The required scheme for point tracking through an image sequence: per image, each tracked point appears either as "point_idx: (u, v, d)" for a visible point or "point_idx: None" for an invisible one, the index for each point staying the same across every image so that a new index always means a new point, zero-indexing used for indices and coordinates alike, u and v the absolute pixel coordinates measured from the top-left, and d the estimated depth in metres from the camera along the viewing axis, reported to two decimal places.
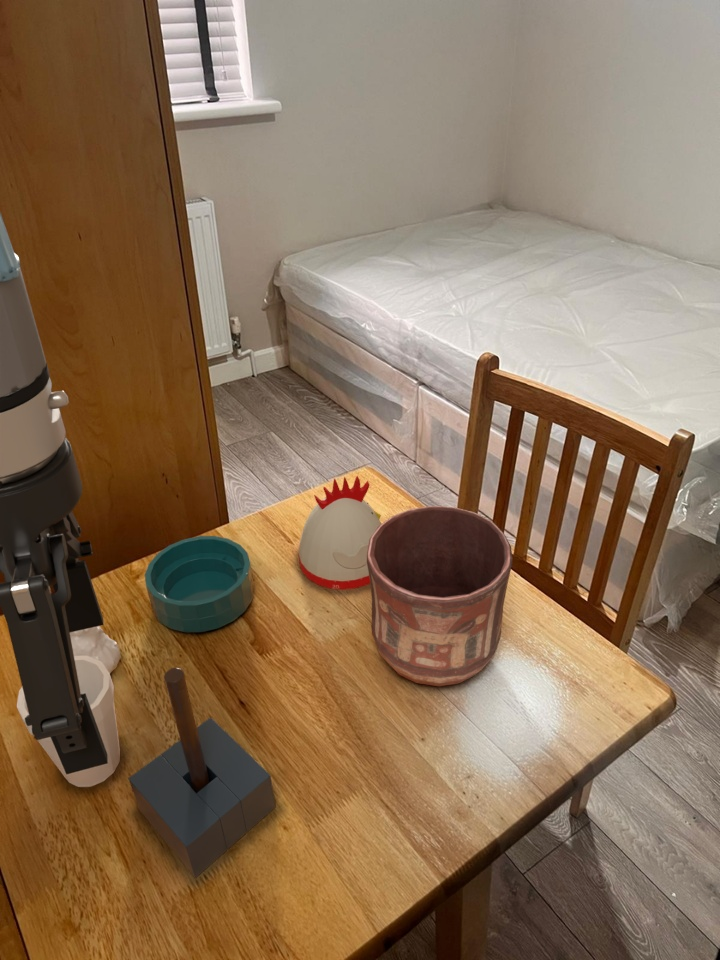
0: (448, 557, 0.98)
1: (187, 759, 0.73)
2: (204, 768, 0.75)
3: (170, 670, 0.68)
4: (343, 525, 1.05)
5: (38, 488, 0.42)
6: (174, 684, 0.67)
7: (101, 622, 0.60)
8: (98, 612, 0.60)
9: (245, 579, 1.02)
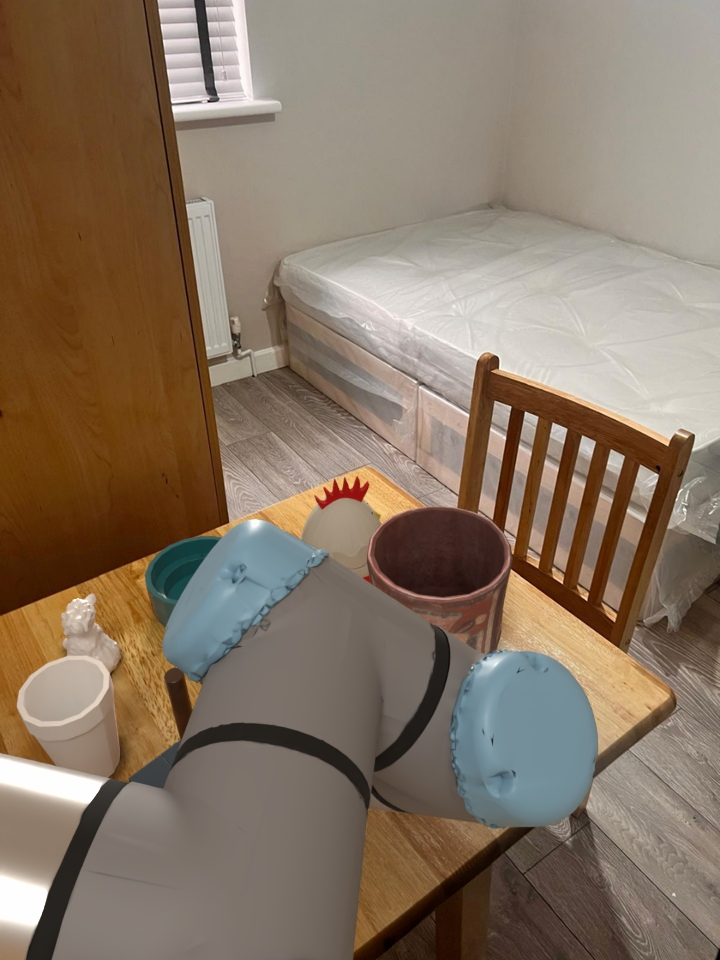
0: (448, 557, 0.98)
1: None
2: None
3: (170, 670, 0.68)
4: (343, 525, 1.05)
5: None
6: (174, 684, 0.67)
7: None
8: None
9: None
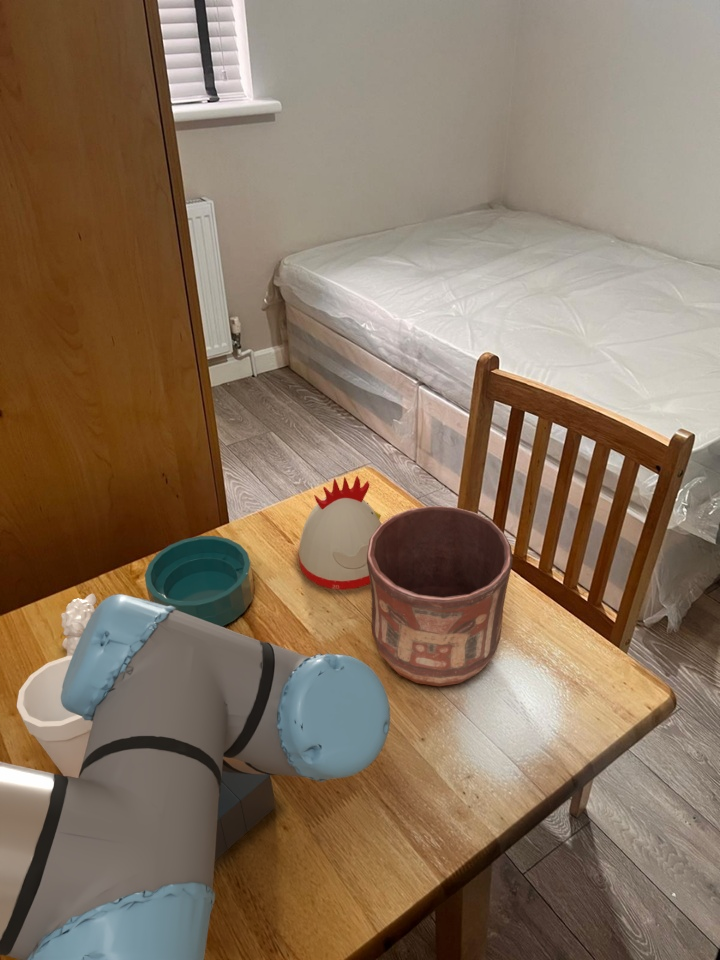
0: (448, 557, 0.98)
1: None
2: None
3: None
4: (343, 525, 1.05)
5: (231, 770, 0.56)
6: None
7: None
8: None
9: (245, 579, 1.02)
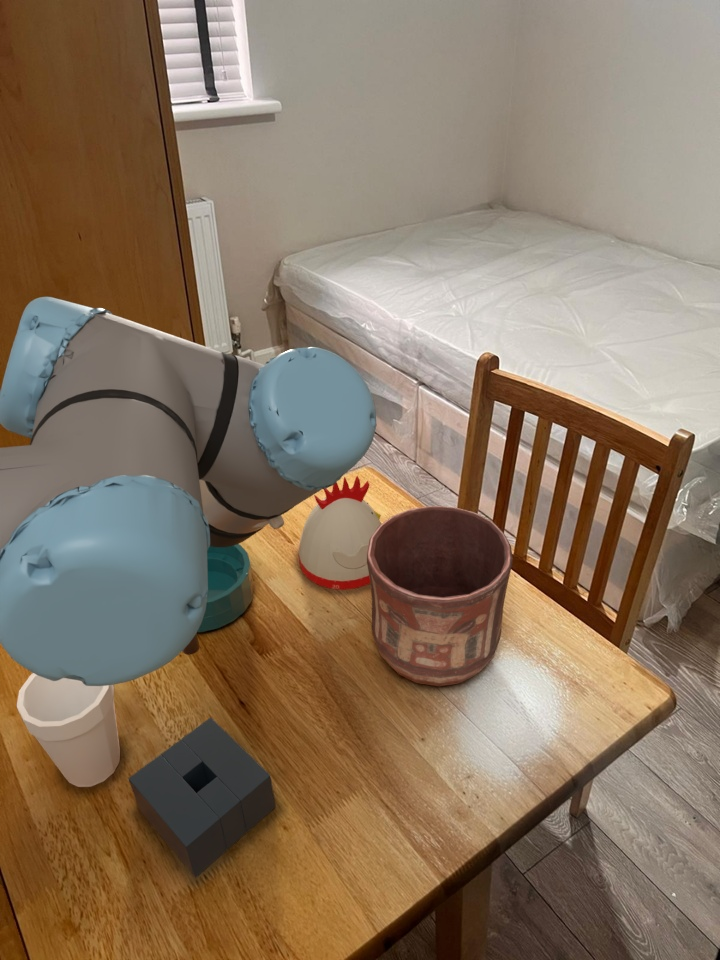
0: (448, 557, 0.98)
1: None
2: None
3: None
4: (343, 525, 1.05)
5: None
6: None
7: None
8: None
9: (245, 579, 1.02)
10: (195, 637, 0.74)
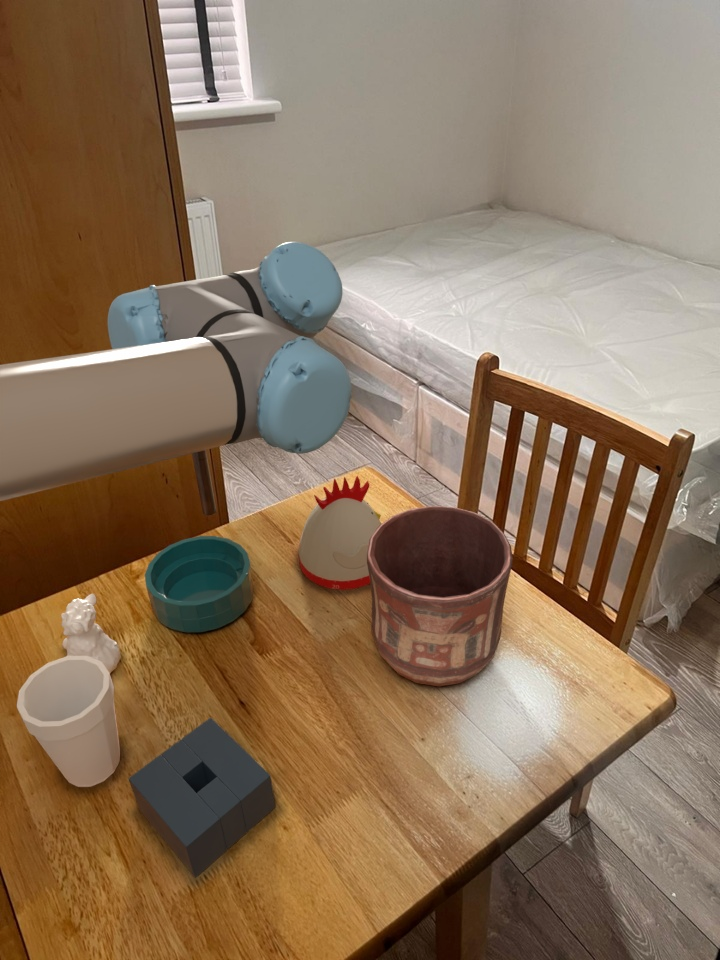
0: (448, 557, 0.98)
1: None
2: (207, 463, 0.92)
3: None
4: (343, 525, 1.05)
5: None
6: None
7: None
8: None
9: (245, 579, 1.02)
10: (213, 501, 0.96)
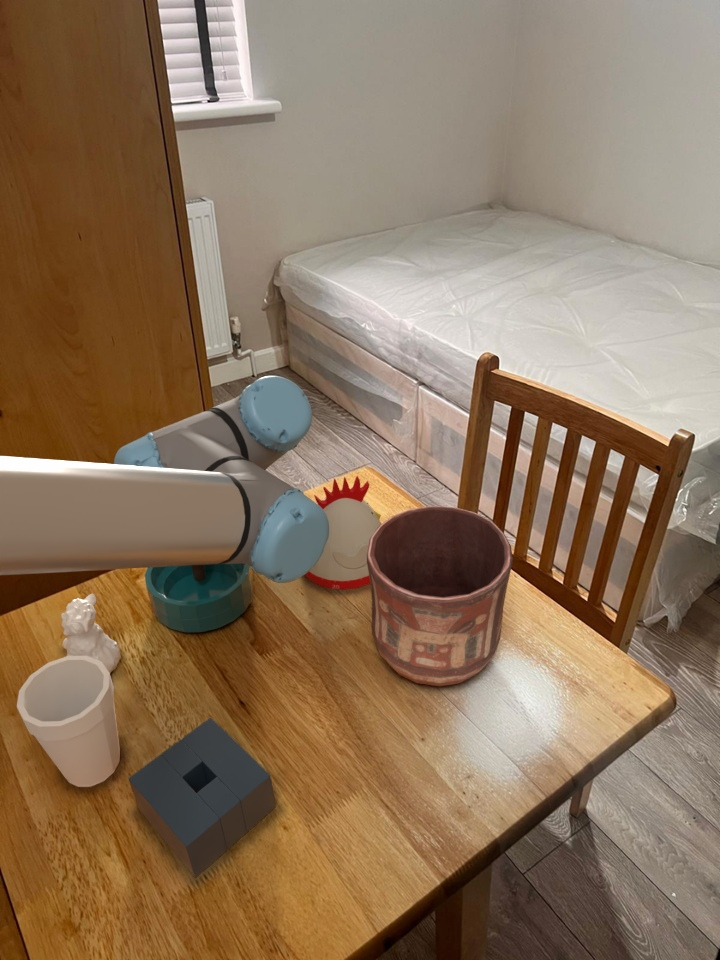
0: (448, 557, 0.98)
1: None
2: None
3: None
4: (343, 525, 1.05)
5: None
6: None
7: None
8: None
9: (245, 579, 1.02)
10: (203, 568, 1.06)
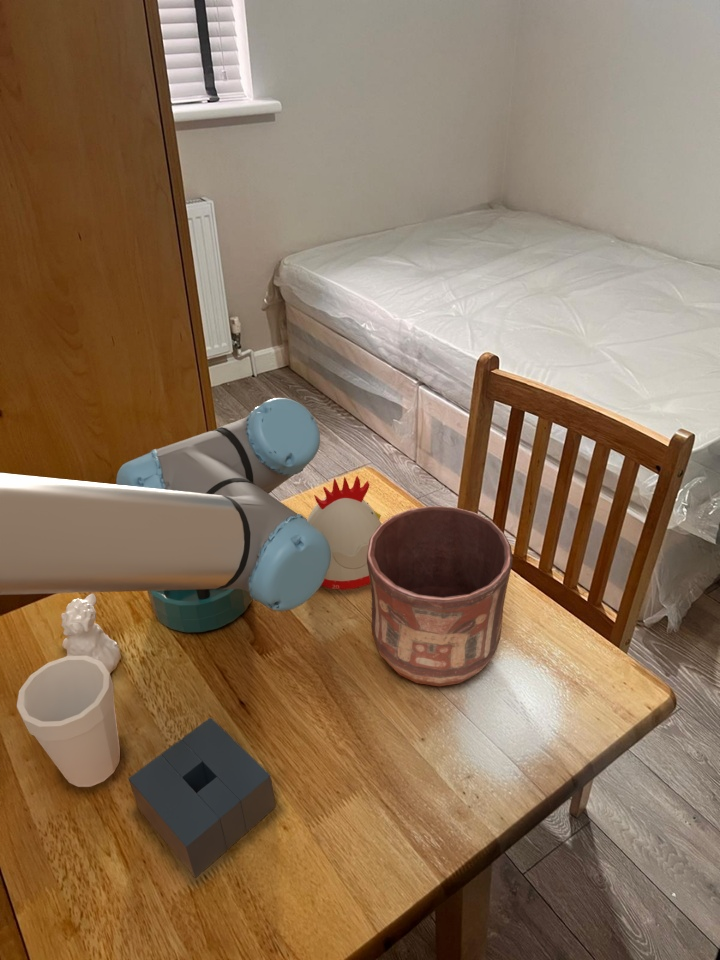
0: (448, 557, 0.98)
1: None
2: None
3: None
4: (343, 525, 1.05)
5: None
6: None
7: None
8: None
9: None
10: None
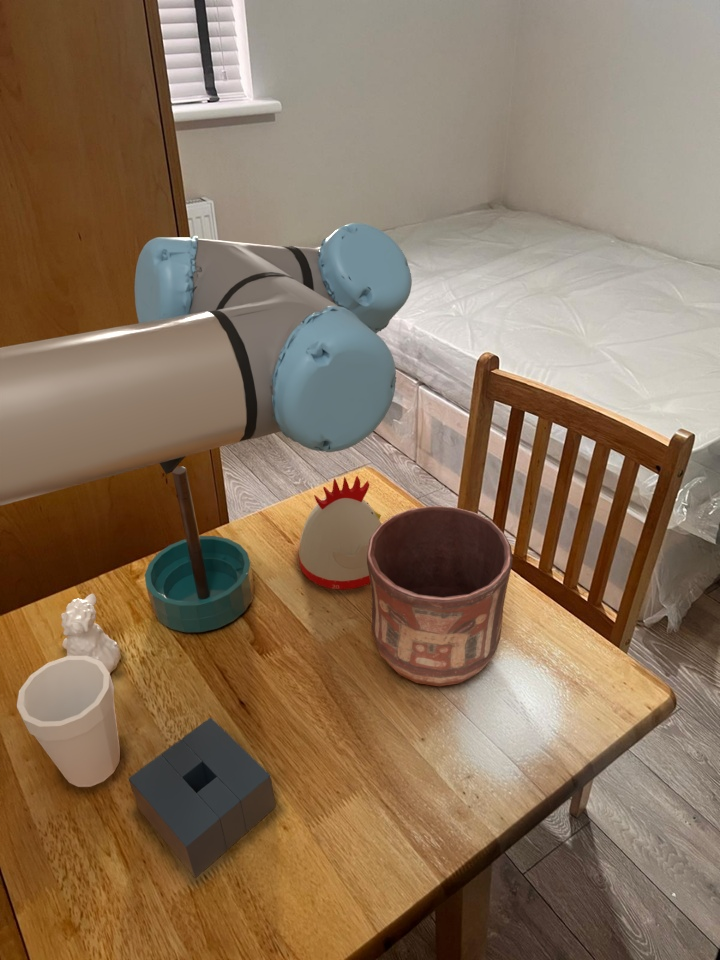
0: (448, 557, 0.98)
1: (188, 545, 1.00)
2: (201, 555, 1.02)
3: (176, 468, 0.94)
4: (343, 525, 1.05)
5: None
6: (179, 475, 0.93)
7: None
8: None
9: (245, 579, 1.02)
10: (207, 586, 1.05)
